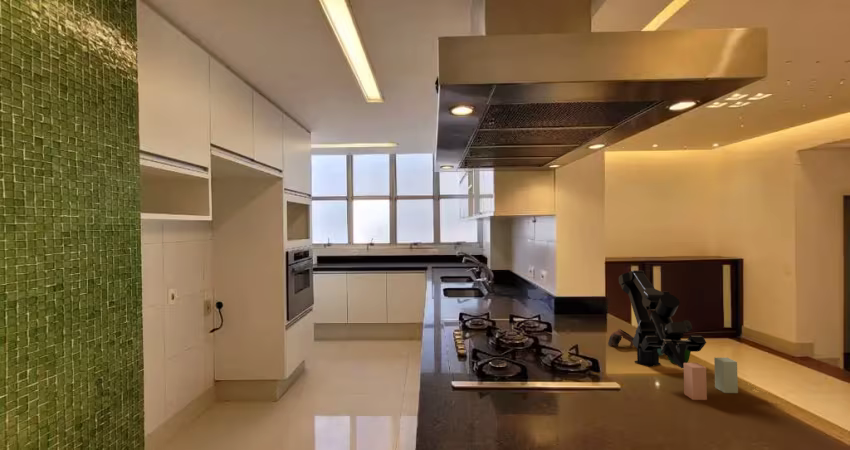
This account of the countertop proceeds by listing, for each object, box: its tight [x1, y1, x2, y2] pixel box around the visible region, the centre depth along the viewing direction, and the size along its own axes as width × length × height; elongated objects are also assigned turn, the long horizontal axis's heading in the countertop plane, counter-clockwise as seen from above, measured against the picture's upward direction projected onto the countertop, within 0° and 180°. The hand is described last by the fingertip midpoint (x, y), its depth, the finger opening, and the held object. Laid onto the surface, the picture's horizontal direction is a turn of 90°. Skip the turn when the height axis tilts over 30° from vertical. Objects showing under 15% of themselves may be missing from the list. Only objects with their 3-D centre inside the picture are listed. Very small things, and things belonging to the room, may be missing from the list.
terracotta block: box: [683, 362, 708, 401], centre depth 127 cm, size 4×4×10 cm
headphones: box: [607, 328, 634, 349], centre depth 183 cm, size 12×10×8 cm
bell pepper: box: [666, 349, 691, 365], centre depth 160 cm, size 8×8×10 cm
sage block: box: [713, 357, 739, 394], centre depth 132 cm, size 4×4×10 cm
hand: (683, 367), depth 133 cm, fingers closed
